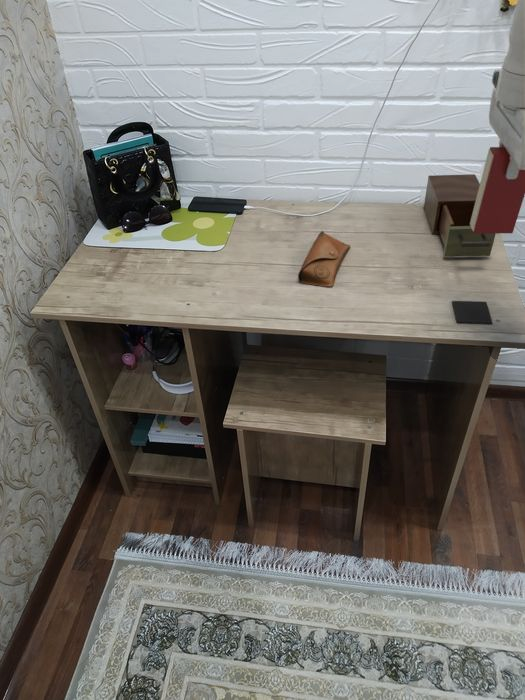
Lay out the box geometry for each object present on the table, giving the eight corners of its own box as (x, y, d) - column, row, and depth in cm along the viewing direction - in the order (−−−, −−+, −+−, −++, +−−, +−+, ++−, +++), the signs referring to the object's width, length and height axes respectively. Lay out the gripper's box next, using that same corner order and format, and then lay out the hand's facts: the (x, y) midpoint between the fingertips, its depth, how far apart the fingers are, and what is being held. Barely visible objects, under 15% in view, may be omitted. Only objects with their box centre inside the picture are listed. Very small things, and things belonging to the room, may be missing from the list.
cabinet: (480, 233, 141) (488, 200, 134) (432, 234, 141) (438, 201, 135) (468, 206, 151) (475, 174, 144) (423, 207, 151) (428, 175, 145)
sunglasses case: (334, 286, 127) (320, 262, 124) (308, 295, 131) (293, 272, 128) (351, 244, 139) (339, 221, 136) (327, 253, 143) (314, 231, 140)
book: (508, 225, 107) (532, 146, 97) (512, 233, 105) (537, 154, 94) (469, 224, 107) (488, 147, 97) (472, 233, 105) (493, 154, 95)
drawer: (494, 266, 129) (502, 238, 124) (447, 267, 129) (453, 239, 124) (477, 227, 141) (483, 201, 136) (434, 228, 142) (439, 202, 137)
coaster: (485, 303, 121) (486, 301, 120) (492, 324, 115) (492, 322, 115) (451, 302, 121) (452, 300, 121) (456, 323, 116) (457, 321, 116)
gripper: (572, 111, 81) (544, 200, 90) (529, 66, 96) (509, 146, 105) (526, 112, 81) (503, 201, 91) (490, 68, 96) (474, 147, 106)
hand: (506, 171), depth 98 cm, fingers closed on book, 3 cm apart
